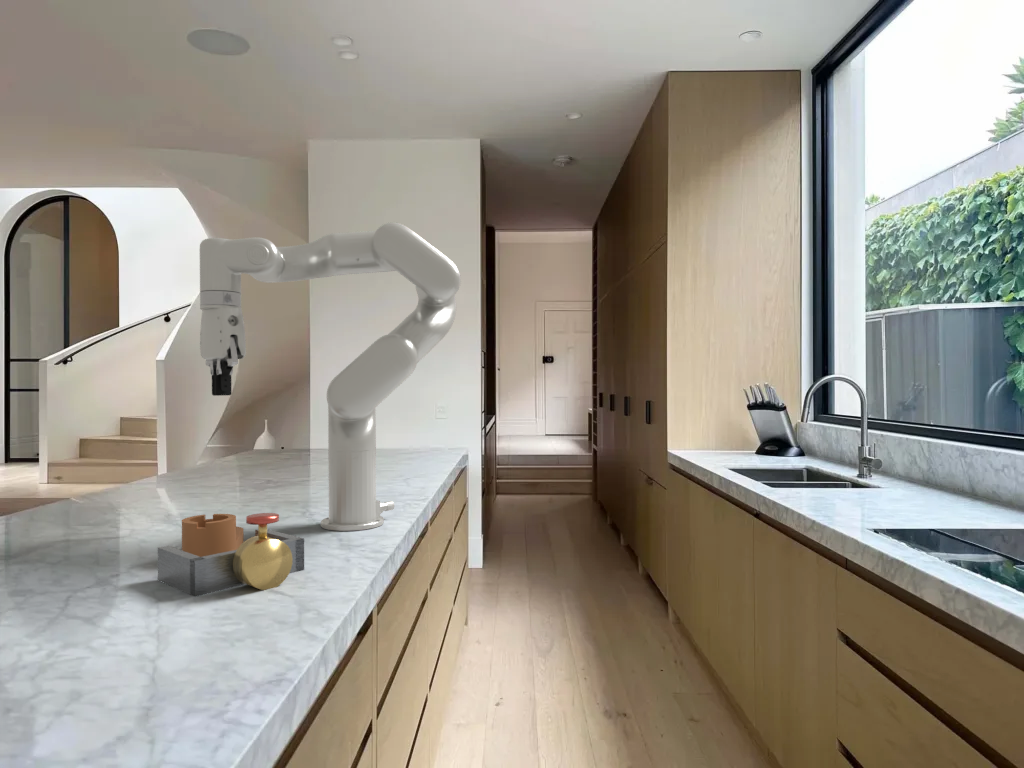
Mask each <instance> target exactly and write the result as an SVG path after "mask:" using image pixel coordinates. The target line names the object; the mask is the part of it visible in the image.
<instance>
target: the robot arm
mask: <svg viewBox="0 0 1024 768" xmlns="http://www.w3.org/2000/svg"><path fill="white" fill-rule="evenodd" d="M395 271H396V272H397V273H399V274H400V275H402V276H403V277H404V278H405V279H407V280H408V281H409V282H411V283H412V284H413V285H414V286H415V291H416V294H417V297H418V298H417V299H418V302H417V305H416V307H415V309H414V310H413V311H411V313H410V314H409V315H408V316H406V317H405V318H404V319H403V320H402V322H400V323H399V324H398V325H397V326H396V327H395V328H394V329H393V330H391V331H390V332H389V333H388V334H385V335H382V336H381V337H379V338H378V339H376V340H375V341H374V342H372V344H370V345H369V346H368V347H367V348H366V349H365V350H364V351H362V353H360V354H359V355H358V356H357V357H356V358H355V359H354V360H353V361H352V362H349V364H348V365H347V366H346V367H345V368H344V369H343V370H342V371H340V372H339V373H338V374H336V375H335V377H334V378H333V379H332V380H331V381H330V383H329V385H328V387H327V388H326V389H327V390H326V401H327V408H328V409H327V410H328V413H327V414H328V415H327V416H328V422H327V423H328V425H327V427H328V431H327V432H328V433H327V434H328V437H327V438H328V440H327V441H328V447H327V448H328V456H327V457H328V459H327V461H328V462H327V464H328V467H327V468H328V469H327V471H328V517H325V518H323V519H321V522H320V527H321V528H322V529H324V530H327V531H328V530H329V531H337V532H353V531H365V530H370V529H371V530H372V529H375V528H378V527H380V526H382V525H384V524H385V523H384V522H385V520H384V519H385V518H384V517H383V516H381V514H383V512H388V511H393V510H395V503H394V501H392V500H390V501H384V502H381V500H377V466H376V465H377V463H376V462H377V460H376V459H377V454H376V453H377V452H376V451H377V450H376V449H377V439H376V438H377V433H376V431H377V429H376V426H377V423H376V422H377V421H376V407H379V405H380V404H381V403H382V402H383V401H385V400H386V398H388V397H389V396H390V395H391V394H392V393H393V392H394V391H395V390H397V389H398V388H399V387H400V386H401V385H402V384H403V383H404V382H405V381H406V380H407V379H408V378H410V376H411V375H412V374H413V373H414V371H415V370H416V368H417V364H418V363H420V362H421V360H422V359H424V358H425V357H426V356H427V355H428V354H429V353H430V352H431V351H432V350H433V349H434V348H435V347H436V346H437V345H438V344H439V343H440V342H441V341H442V340H443V339H444V338H445V337H446V336H447V334H448V333H449V332H450V330H451V329H452V326H453V324H454V322H455V319H456V313H457V298H456V294H457V293H458V292H459V290H460V286H461V284H462V283H461V282H462V277H461V273H460V271H459V268H458V267H457V265H456V264H455V263H454V262H453V261H452V259H450V258H449V257H448V256H446V255H445V254H443V253H442V252H441V251H440V250H438V249H437V248H436V247H435V246H433V245H431V243H429V242H428V241H426V240H425V239H424V238H423V237H421V236H420V235H419V234H418V233H416V232H415V231H414V230H412V229H411V228H409V227H408V226H406V225H405V224H402V223H399V222H395V221H393V222H386V223H383V224H382V225H380V226H379V227H378V228H377V229H376V230H369V231H368V230H367V231H353V232H352V231H350V232H349V231H348V232H332V233H329V234H326V235H323V236H321V237H320V238H318V239H317V240H315V241H312V242H309V243H304V244H297V245H289V246H276V245H275V243H274V242H272V241H271V240H270V239H268V238H263V237H256V236H255V237H246V238H238V239H237V238H236V239H235V238H234V239H230V238H224V237H211V238H210V237H208V238H205V239H203V240H201V242H200V243H199V309H200V310H202V311H201V319H200V330H199V331H200V332H199V333H200V334H199V347H200V348H199V349H200V356H201V358H203V360H205V365H206V366H207V367H209V369H210V370H209V371H210V375H211V395H212V396H214V397H215V396H218V397H219V396H231V395H232V375H233V373H234V372H233V371H234V367H235V366H237V365H238V364H239V360H242V359H244V358H246V356H247V345H246V340H247V339H246V330H245V329H246V328H245V321H244V320H245V319H244V315H243V310H242V274H244V275H246V274H247V275H249V276H251V277H252V278H253V279H254V280H256V281H258V282H261V283H266V284H267V283H269V284H270V283H284V282H285V283H286V282H287V283H288V282H298V281H300V282H301V281H306V280H307V281H308V280H313V279H322V278H331V277H334V276H335V277H336V276H345V275H346V276H347V275H357V274H373V273H375V274H376V273H386V272H387V273H388V272H395Z"/></svg>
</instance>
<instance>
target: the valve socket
mask: <svg viewBox="0 0 1024 768" xmlns="http://www.w3.org/2000/svg"><path fill="white" fill-rule="evenodd" d="M245 518H246V519H245V520H246V522H245V523H246V524H247V525H255V526H256V525H258V527H257V529H255V530H254V531H255V533H254V536H251V537H249V538H247V539H246V540H243V543H242V544H241V545H240V546H239V548H238V549H237V550H233V551H228V552H223V553H218V554H213V555H208V556H203V557H199V556H196V555H194V554H191V553H188V552H185V551H182V549H179V548H176V547H173V546H170V545H165V546H159V547H157V581H158V580H159V581H158V582H160V581H162V582H164V583H163V584H165V583H166V584H165V585H167V584H168V586H169V587H172V588H174V589H177V590H178V591H181V592H183V593H185V594H187V595H191V596H193V597H195V598H196V597H199V595H200V596H202V595H203V594H204V595H208V594H212V593H216V592H220V591H225V590H227V589H232V588H236V587H237V588H238V587H239V586H244V585H247V586H250V587H253V588H256V589H259V590H262V591H267V590H272V589H275V588H277V587H279V586H280V585H281V584H283V583H284V581H286V579H287V578H288V576H289V575H290V574H294V573H297V572H298V573H299V572H302V571H305V538H302V537H300V536H296V535H292V534H287V533H283V532H279V531H275V530H272V529H268V525H269V524H275V523H278V522H279V521H280V514H279V513H274V512H261V513H253V514H249V515H247V516H246V517H245ZM162 582H161V583H162ZM219 590H220V591H219ZM215 591H216V592H215ZM211 592H212V593H211ZM207 593H208V594H207ZM204 595H203V596H204Z"/></svg>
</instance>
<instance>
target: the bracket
mask: <svg viewBox="0 0 1024 768" xmlns="http://www.w3.org/2000/svg"><path fill="white" fill-rule="evenodd" d="M243 542H244V527H242V526H237V516H236V515H235V514H231V513H213V514H212V518H206V514H199V515H198V514H197V515H194V516H193V515H192V516H188V517H185V518H183V519H182V520H181V550H182V551H185V552H188V553H191V554H194V555H196V556H199V557H203V556H208V555H213V554H218V553H223V552H228V551H233V550H237V549H238V548H239V546H240V545H241V544H242V543H243Z"/></svg>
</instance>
